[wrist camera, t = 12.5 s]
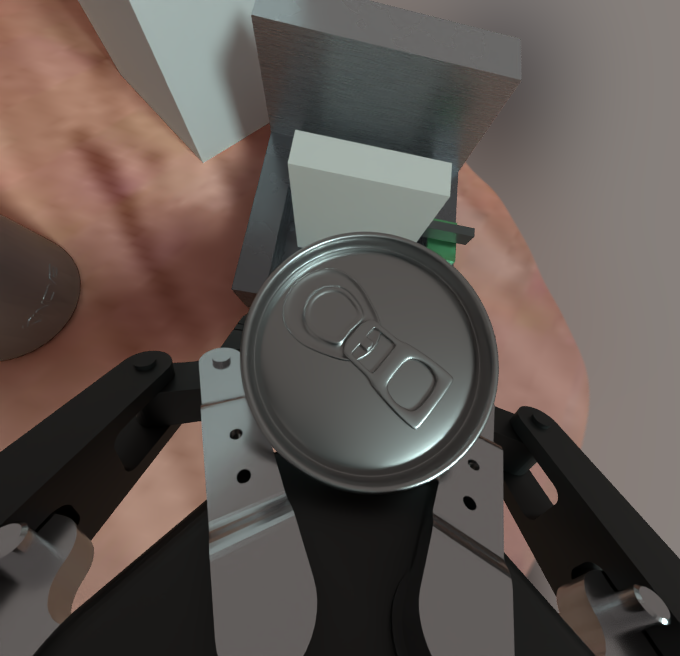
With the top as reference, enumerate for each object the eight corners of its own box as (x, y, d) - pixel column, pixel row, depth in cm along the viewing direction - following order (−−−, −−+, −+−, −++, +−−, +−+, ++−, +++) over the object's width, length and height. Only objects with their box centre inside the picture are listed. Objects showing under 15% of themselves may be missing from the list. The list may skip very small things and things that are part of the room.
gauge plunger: (297, 246, 19) (287, 163, 12) (302, 223, 20) (295, 129, 12) (442, 273, 20) (516, 210, 13) (443, 250, 21) (516, 176, 13)
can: (330, 306, 18) (359, 166, 6) (400, 368, 18) (568, 339, 6) (264, 376, 17) (144, 360, 5) (338, 445, 16) (399, 607, 4)
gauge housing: (247, 306, 19) (181, 233, 10) (284, 146, 23) (263, -27, 13) (425, 336, 20) (525, 295, 11) (436, 178, 23) (520, 38, 14)
